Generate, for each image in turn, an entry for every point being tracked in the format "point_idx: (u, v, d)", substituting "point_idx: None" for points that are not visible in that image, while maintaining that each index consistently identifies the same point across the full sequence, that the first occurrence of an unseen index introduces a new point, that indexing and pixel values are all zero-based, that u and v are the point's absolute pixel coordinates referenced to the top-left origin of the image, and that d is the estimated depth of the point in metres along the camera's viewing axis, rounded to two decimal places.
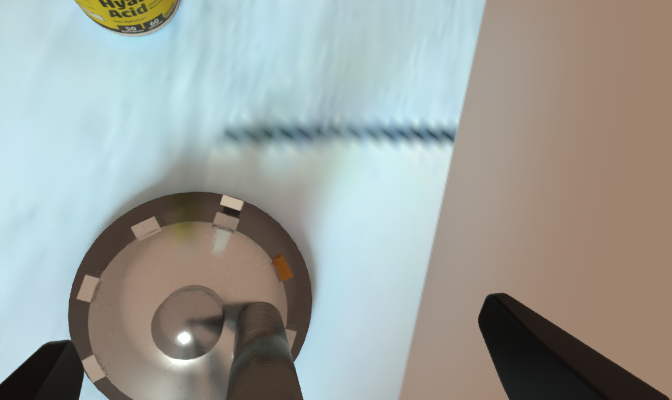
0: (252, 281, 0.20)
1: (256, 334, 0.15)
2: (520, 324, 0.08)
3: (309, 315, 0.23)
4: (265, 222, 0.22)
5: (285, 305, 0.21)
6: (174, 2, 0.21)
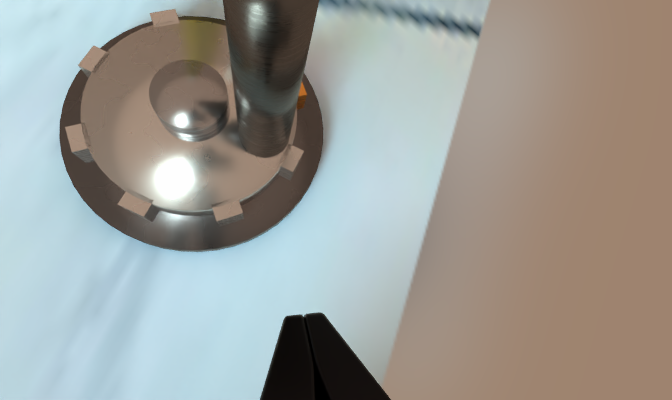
0: None
1: None
2: (313, 351, 0.07)
3: (318, 159, 0.21)
4: None
5: (295, 121, 0.19)
6: None
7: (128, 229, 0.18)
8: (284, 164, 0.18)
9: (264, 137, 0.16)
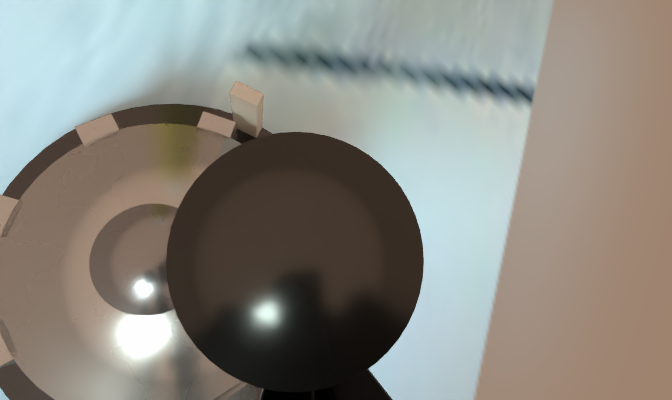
0: None
1: None
2: None
3: None
4: None
5: None
6: None
7: None
8: None
9: None
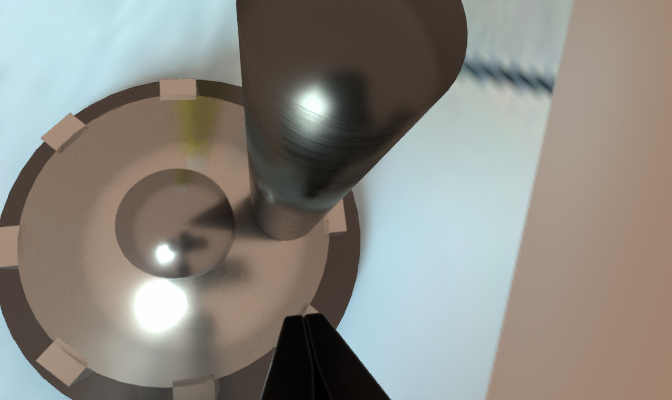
0: None
1: None
2: (313, 351, 0.07)
3: (354, 278, 0.15)
4: None
5: None
6: None
7: (89, 398, 0.13)
8: (332, 228, 0.14)
9: (314, 225, 0.11)
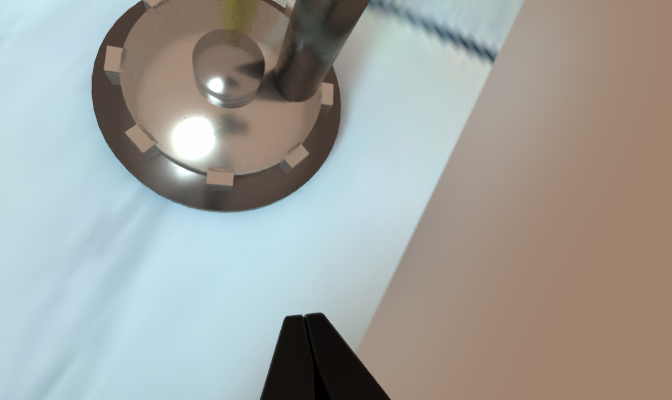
0: (277, 40, 0.20)
1: None
2: (313, 351, 0.07)
3: (330, 147, 0.22)
4: None
5: None
6: None
7: (144, 177, 0.19)
8: (323, 101, 0.20)
9: (316, 79, 0.18)
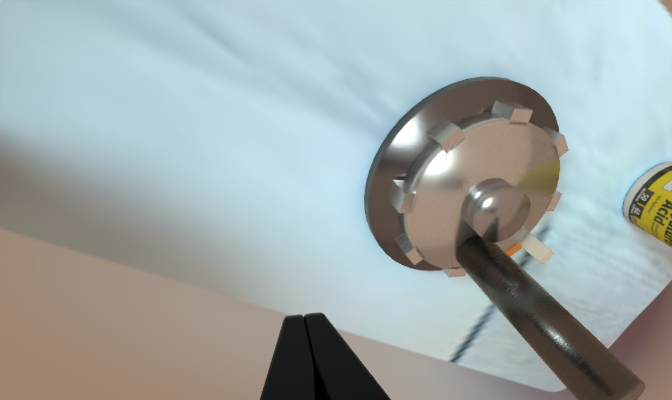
0: None
1: None
2: (313, 351, 0.07)
3: (409, 266, 0.25)
4: None
5: None
6: (635, 223, 0.30)
7: (410, 126, 0.20)
8: (453, 270, 0.24)
9: (481, 286, 0.21)
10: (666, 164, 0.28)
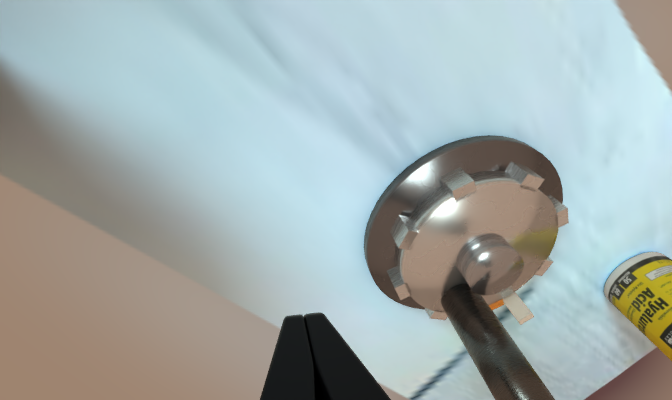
0: None
1: None
2: (313, 351, 0.07)
3: (394, 299, 0.26)
4: None
5: None
6: (613, 303, 0.31)
7: (427, 168, 0.21)
8: (435, 313, 0.24)
9: (460, 334, 0.22)
10: (653, 253, 0.30)
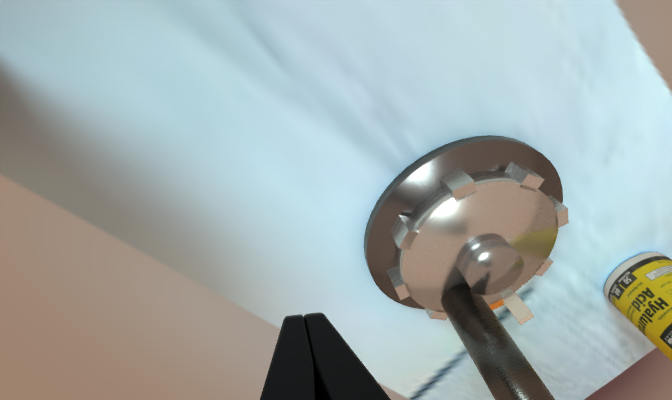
0: None
1: None
2: (313, 351, 0.07)
3: (394, 299, 0.26)
4: None
5: None
6: (613, 303, 0.31)
7: (427, 168, 0.21)
8: (435, 313, 0.24)
9: (460, 334, 0.22)
10: (653, 253, 0.30)
